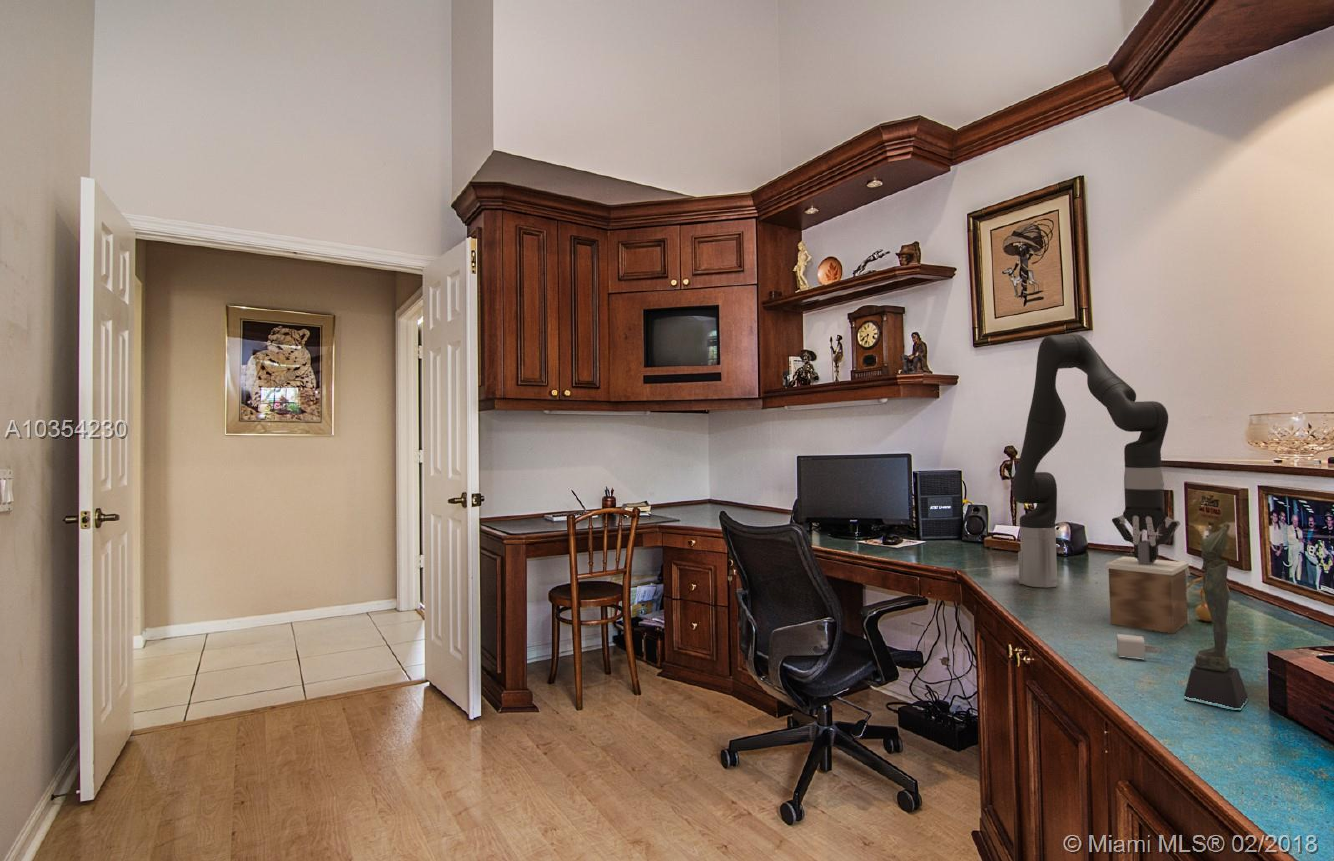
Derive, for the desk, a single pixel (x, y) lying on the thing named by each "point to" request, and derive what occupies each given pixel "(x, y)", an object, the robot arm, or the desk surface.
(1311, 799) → the desk surface
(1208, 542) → the statue
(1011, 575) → the desk surface
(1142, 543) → the lid
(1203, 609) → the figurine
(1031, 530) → the robot arm
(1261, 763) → the desk surface
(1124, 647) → the usb wall charger
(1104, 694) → the desk surface
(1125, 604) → the box
